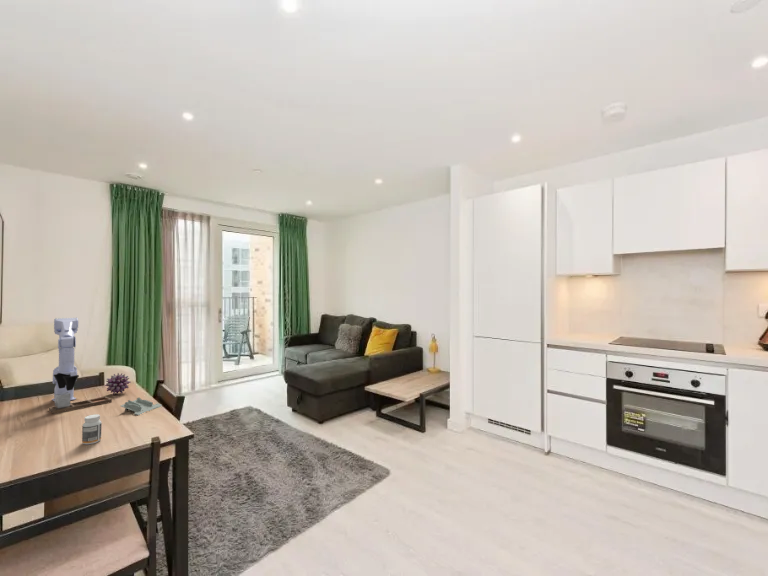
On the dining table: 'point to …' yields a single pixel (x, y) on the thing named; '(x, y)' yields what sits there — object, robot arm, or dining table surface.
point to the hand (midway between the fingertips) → (65, 389)
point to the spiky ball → (117, 383)
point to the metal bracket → (140, 406)
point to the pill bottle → (91, 429)
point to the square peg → (62, 400)
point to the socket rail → (90, 403)
